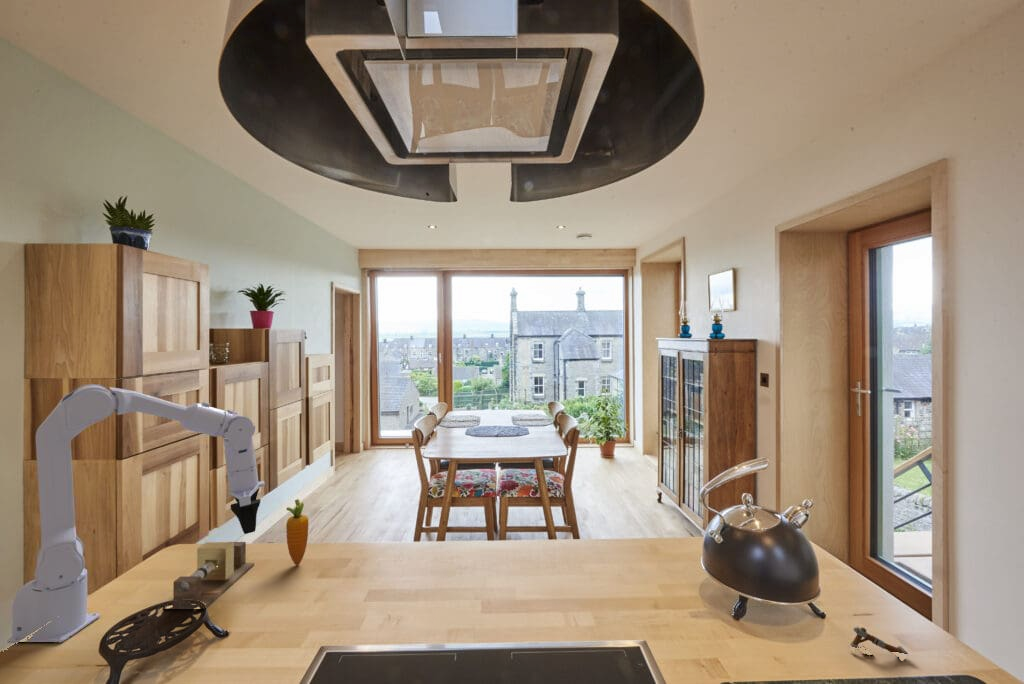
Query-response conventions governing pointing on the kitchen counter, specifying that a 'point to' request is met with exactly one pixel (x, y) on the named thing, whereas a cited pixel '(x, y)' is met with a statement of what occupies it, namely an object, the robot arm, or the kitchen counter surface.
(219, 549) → the brushed brass square block
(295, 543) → the carrot
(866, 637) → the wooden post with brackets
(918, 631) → the kitchen counter surface
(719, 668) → the kitchen counter surface
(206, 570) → the pipe
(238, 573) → the slider rail
